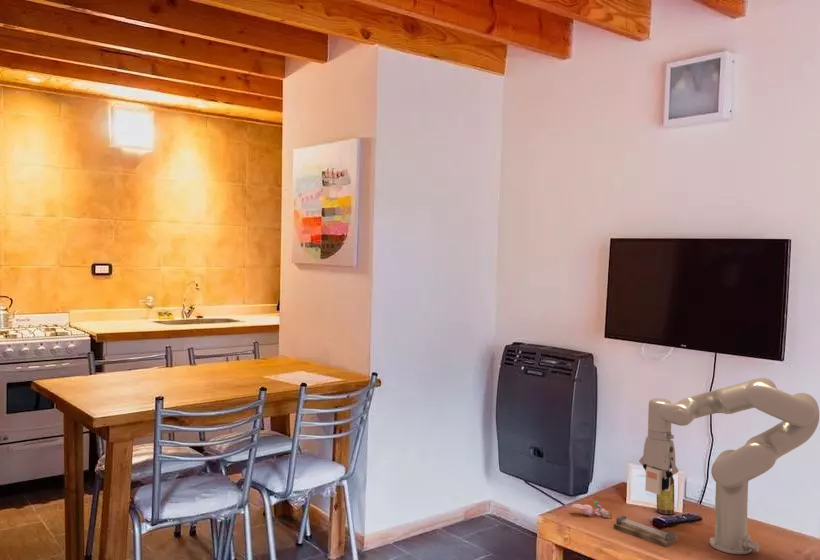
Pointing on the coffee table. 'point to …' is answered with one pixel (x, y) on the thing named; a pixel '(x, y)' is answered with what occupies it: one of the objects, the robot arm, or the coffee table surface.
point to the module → (654, 480)
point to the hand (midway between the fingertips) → (657, 486)
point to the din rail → (645, 528)
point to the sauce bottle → (666, 500)
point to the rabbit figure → (589, 510)
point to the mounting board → (644, 535)
